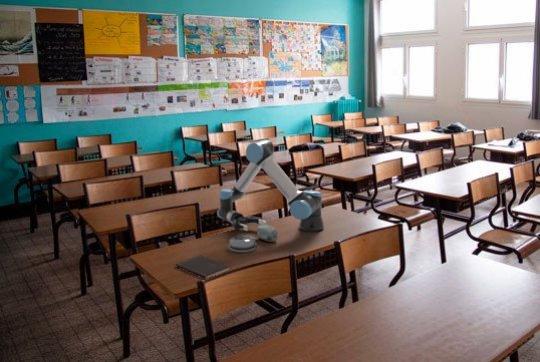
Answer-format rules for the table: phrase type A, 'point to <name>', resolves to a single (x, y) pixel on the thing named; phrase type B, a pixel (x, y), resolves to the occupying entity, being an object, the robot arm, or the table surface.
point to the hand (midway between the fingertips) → (256, 226)
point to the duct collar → (242, 244)
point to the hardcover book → (203, 266)
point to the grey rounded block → (267, 233)
